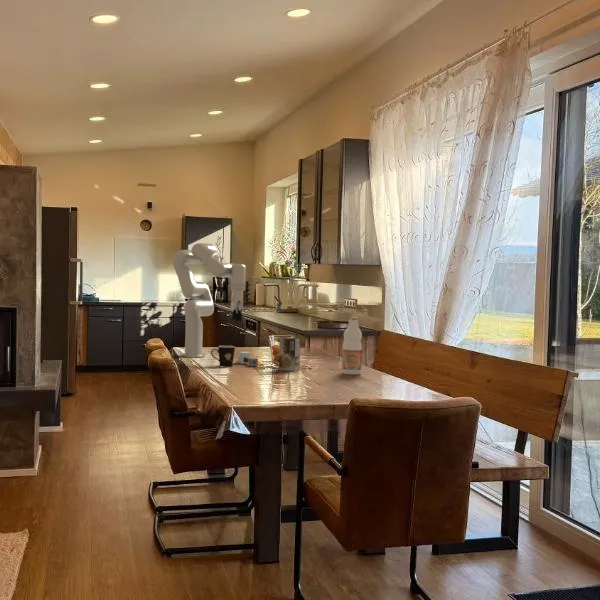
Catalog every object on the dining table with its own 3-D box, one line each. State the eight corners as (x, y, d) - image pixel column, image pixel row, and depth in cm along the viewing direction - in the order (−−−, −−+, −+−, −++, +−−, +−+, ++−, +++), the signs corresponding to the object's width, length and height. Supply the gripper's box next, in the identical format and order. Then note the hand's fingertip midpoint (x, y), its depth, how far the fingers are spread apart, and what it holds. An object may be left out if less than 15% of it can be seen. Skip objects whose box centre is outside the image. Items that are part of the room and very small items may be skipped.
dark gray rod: (237, 361, 382) (238, 355, 382) (243, 361, 384) (243, 355, 383) (251, 365, 368) (251, 359, 368) (256, 365, 370) (257, 359, 370)
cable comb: (235, 362, 381) (235, 356, 381) (245, 362, 384) (246, 356, 384) (236, 363, 380) (236, 356, 380) (246, 362, 383) (247, 356, 383)
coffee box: (300, 370, 363) (301, 338, 363) (294, 371, 357) (295, 339, 357) (283, 368, 367) (284, 336, 366) (278, 369, 361) (279, 337, 361)
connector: (248, 366, 370) (248, 358, 370) (255, 365, 372) (255, 358, 372) (250, 366, 368) (250, 359, 368) (257, 366, 370) (257, 358, 370)
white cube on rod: (238, 362, 380) (238, 351, 380) (245, 362, 382) (246, 351, 382) (242, 363, 376) (242, 352, 376) (249, 363, 378) (249, 352, 378)
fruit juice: (337, 372, 359) (340, 316, 357) (353, 371, 364) (355, 316, 363) (349, 375, 351) (351, 317, 350) (364, 374, 356) (366, 317, 355)
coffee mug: (236, 365, 372) (236, 346, 371) (232, 367, 363) (233, 347, 363) (213, 364, 373) (214, 345, 373) (210, 366, 364) (210, 346, 364)
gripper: (228, 286, 385) (227, 318, 386) (233, 288, 369) (232, 321, 369) (242, 287, 387) (241, 319, 388) (248, 288, 370) (246, 321, 371)
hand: (236, 320), depth 379 cm, fingers open, 9 cm apart
